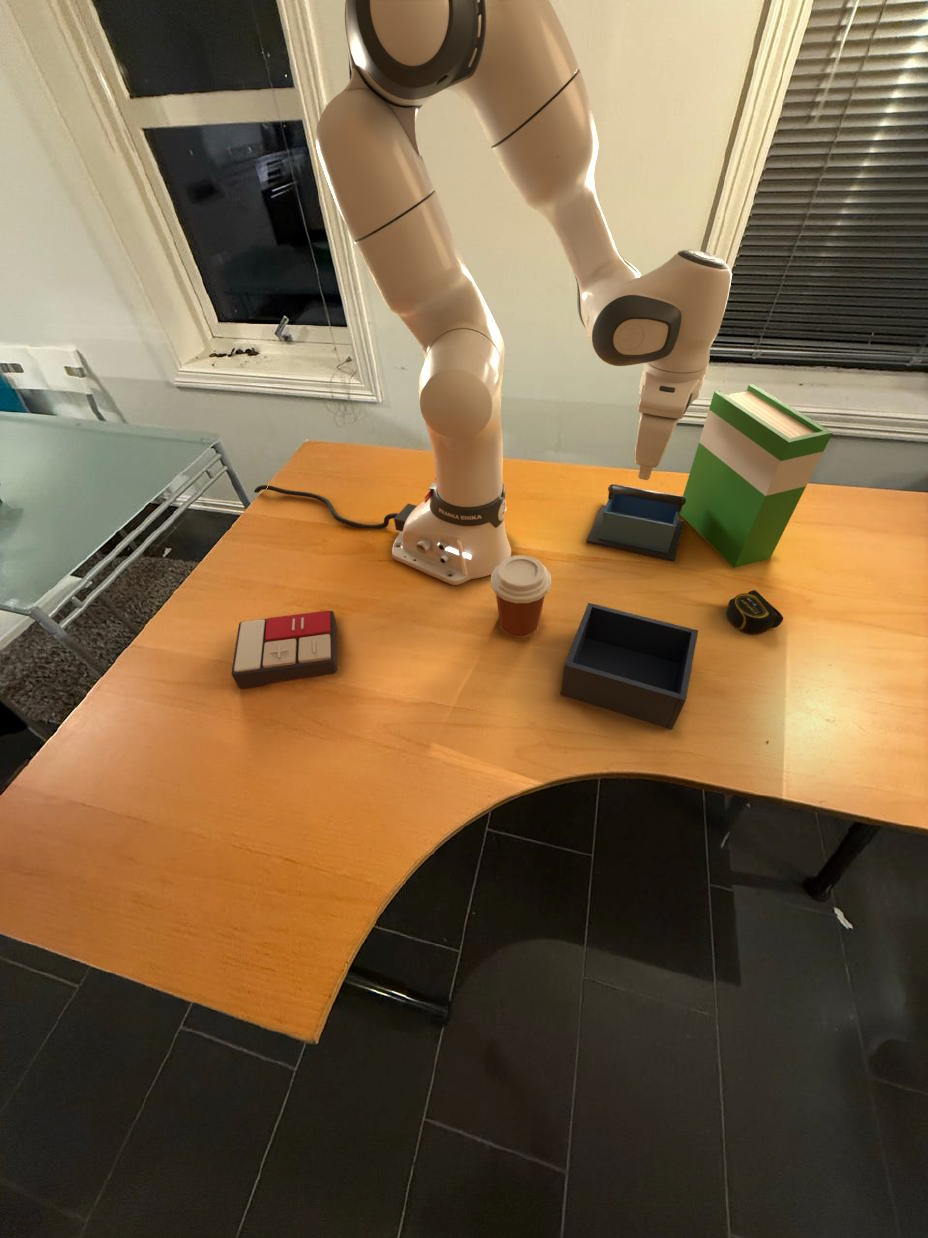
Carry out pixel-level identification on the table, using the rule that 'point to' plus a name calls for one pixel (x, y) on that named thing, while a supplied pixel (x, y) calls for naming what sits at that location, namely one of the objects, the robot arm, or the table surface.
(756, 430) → the hardback book
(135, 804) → the table surface
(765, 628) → the tape measure
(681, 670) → the bin
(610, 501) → the inner bin
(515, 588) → the coffee cup
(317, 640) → the button control panel
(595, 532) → the mat
